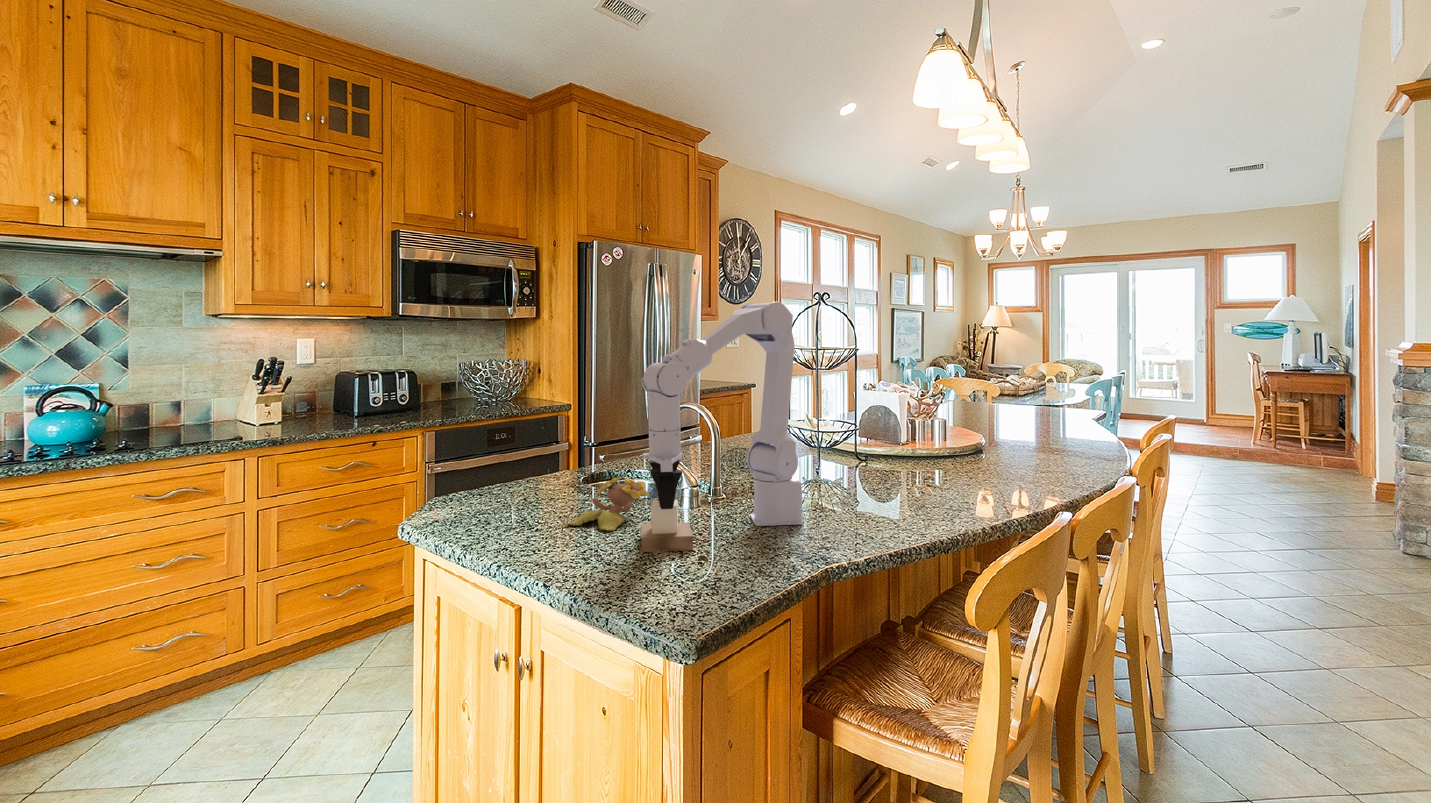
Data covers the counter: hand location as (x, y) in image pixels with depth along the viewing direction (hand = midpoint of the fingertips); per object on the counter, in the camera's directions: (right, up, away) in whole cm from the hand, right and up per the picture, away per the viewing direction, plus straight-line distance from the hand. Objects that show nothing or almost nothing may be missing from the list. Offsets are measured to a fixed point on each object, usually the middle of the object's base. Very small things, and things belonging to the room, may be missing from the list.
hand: (666, 503), depth 125 cm
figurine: (-13, -6, +16) cm, 22 cm away
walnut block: (0, -8, +1) cm, 8 cm away
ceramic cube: (0, -5, 0) cm, 5 cm away
